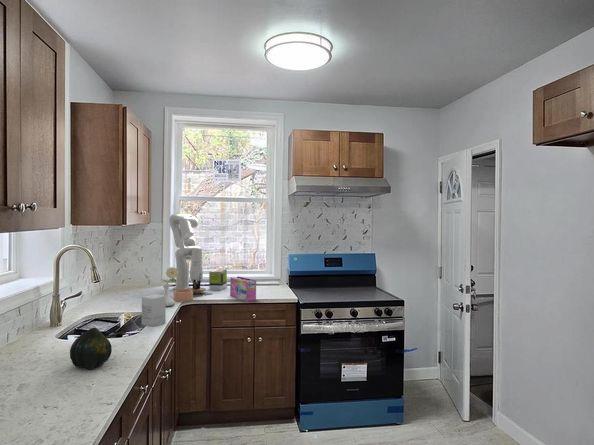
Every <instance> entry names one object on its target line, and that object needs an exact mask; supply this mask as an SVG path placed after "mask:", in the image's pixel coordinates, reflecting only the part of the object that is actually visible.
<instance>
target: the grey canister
mask: <svg viewBox="0 0 594 445" xmlns="http://www.w3.org/2000/svg"><path fill="white" fill-rule="evenodd" d="M163 324H166V306H165V296H164V295H161V294H150V295H144V296H141V325H143V326H147V327H153V328H154V327H158V326H160V325H163Z"/></svg>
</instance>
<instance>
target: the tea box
mask: <svg viewBox="0 0 594 445" xmlns="http://www.w3.org/2000/svg"><path fill="white" fill-rule="evenodd" d="M208 273H209V274H208V276H209V277H208V278H209V279H208V280H209V281H208V284H209V285H208V286H209V290H211V291H222V290H223V289H226V288H228V270H227V268H214V269H212V270H210V271H208Z"/></svg>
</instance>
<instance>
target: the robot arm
mask: <svg viewBox="0 0 594 445" xmlns="http://www.w3.org/2000/svg"><path fill="white" fill-rule="evenodd" d="M168 222H169V223H168V224H169V227H170V229H171V231H172V234H173V239H174V243H175V244H174V245H175V247H176V248H177V249H176V251H175V253H174V254H175V256H174V257H175V263H176V266H175V268H176V270H177V271H178V276H177V277H175V280H176V282H174V287H173V289H174V290H179V289H188V288H194V282H197V284H196V289H200V287H201V283H202V282H203V267H202V266H203V250H202V249H203V248H202V247H201V246H198V245H197V241H196V239H195V237H194V230H193V228H195V229H196V228H197V227H198V226H199V221H198V219H197V217H195V216H194V215H192V214H190V213H174V214H171V215H170V217H169V220H168ZM187 261H191V262H190V263H191V264H190V265H189V263H188V262H187ZM190 281H191V283H192V287H191V286H189V285H190Z"/></svg>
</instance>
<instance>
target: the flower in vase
mask: <svg viewBox="0 0 594 445" xmlns="http://www.w3.org/2000/svg"><path fill="white" fill-rule="evenodd" d="M165 275H166V276H167V278H169V280H165V279H162V281H163V282H167V283H162V288H163V289H164V290H163V292H164V294H163V296H165V307H170V306H174V305H175V304H176V301H175V300H174V298H172V297H170V295H169V288H170V286H171V283H169V282H172V283H176V277H177V276H178V271H177V270H176V267H173V266H170V267H169V268H166V271H165Z"/></svg>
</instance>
